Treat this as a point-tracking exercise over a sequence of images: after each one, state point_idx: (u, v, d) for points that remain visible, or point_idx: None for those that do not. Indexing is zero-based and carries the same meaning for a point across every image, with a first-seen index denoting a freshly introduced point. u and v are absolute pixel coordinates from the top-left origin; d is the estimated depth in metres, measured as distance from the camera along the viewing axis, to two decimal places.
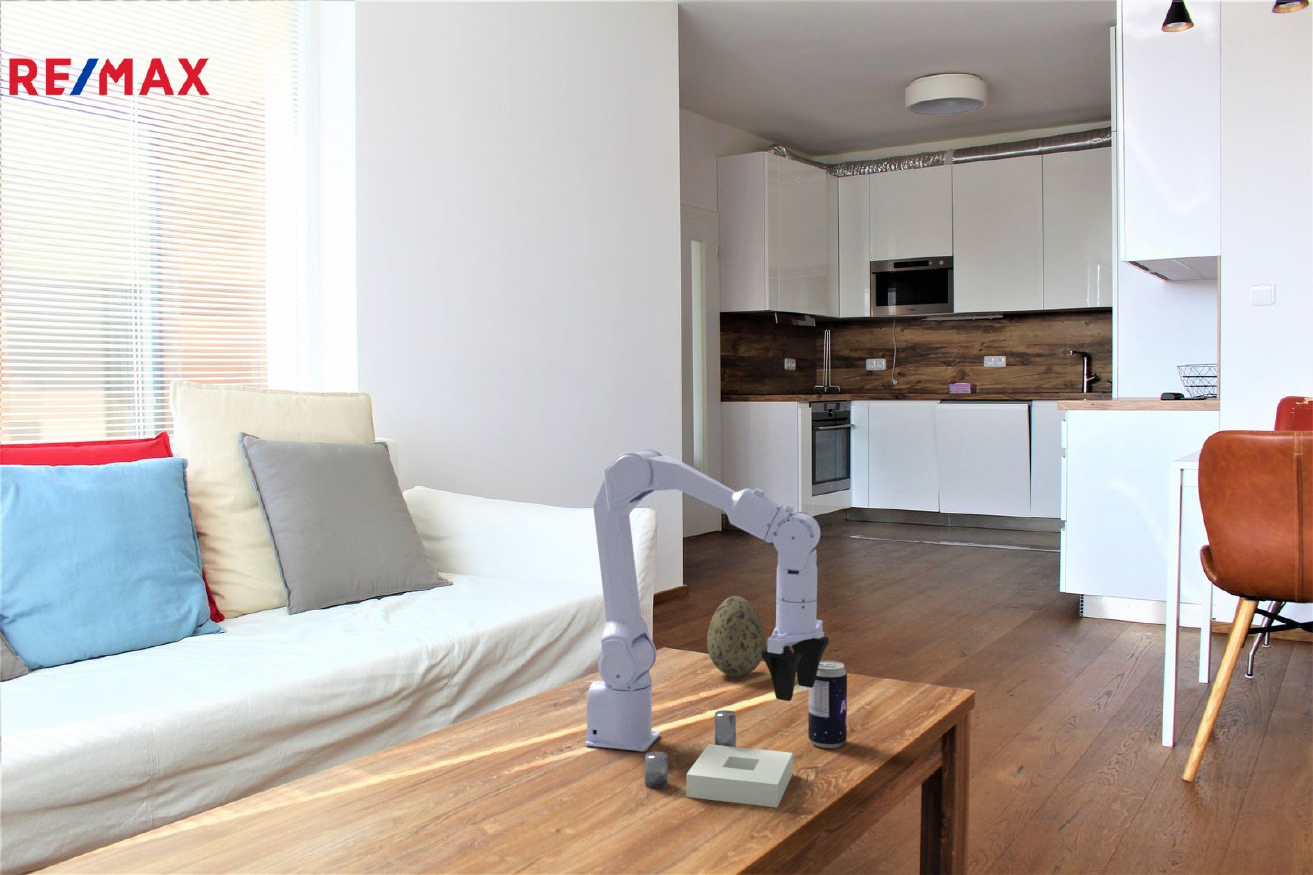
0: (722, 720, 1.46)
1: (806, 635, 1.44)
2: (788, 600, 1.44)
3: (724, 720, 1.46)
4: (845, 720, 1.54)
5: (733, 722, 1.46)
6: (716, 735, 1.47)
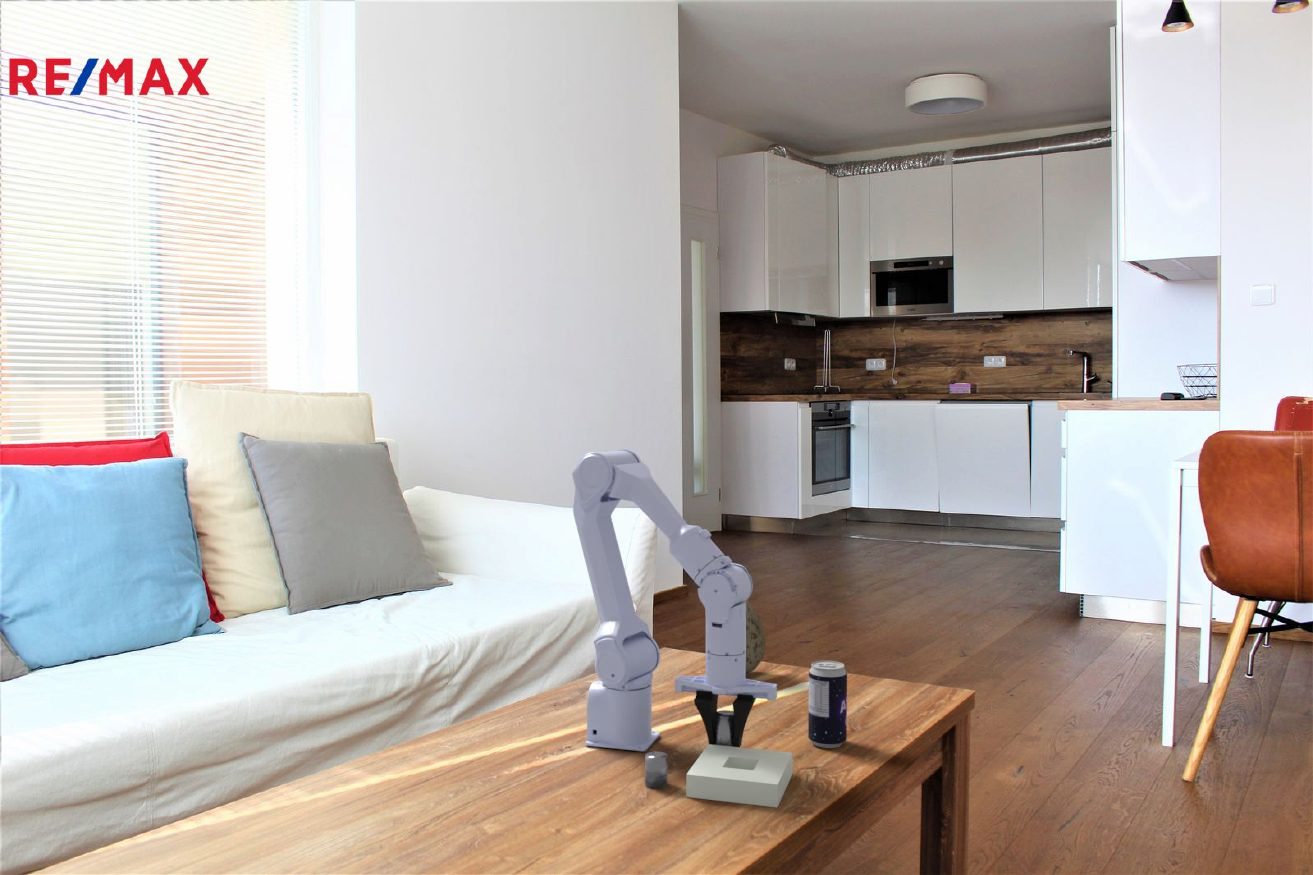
0: (722, 720, 1.46)
1: (707, 686, 1.45)
2: (712, 653, 1.45)
3: (724, 720, 1.46)
4: (845, 720, 1.54)
5: (733, 722, 1.46)
6: (716, 735, 1.47)
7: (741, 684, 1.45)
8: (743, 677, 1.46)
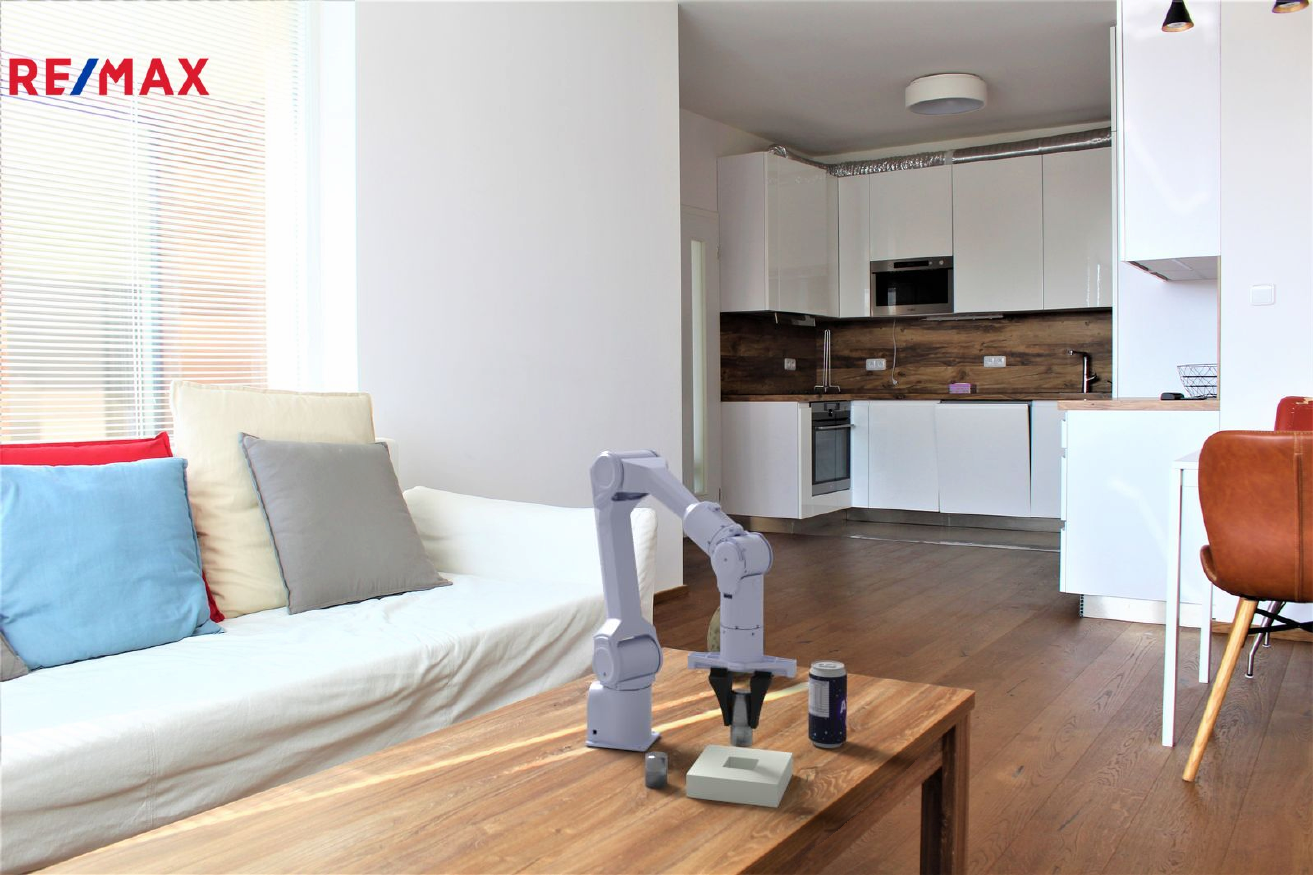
0: (739, 699, 1.37)
1: (722, 662, 1.36)
2: (724, 625, 1.36)
3: (741, 699, 1.37)
4: (845, 720, 1.54)
5: (750, 701, 1.37)
6: (732, 715, 1.38)
7: (758, 660, 1.36)
8: (760, 652, 1.36)
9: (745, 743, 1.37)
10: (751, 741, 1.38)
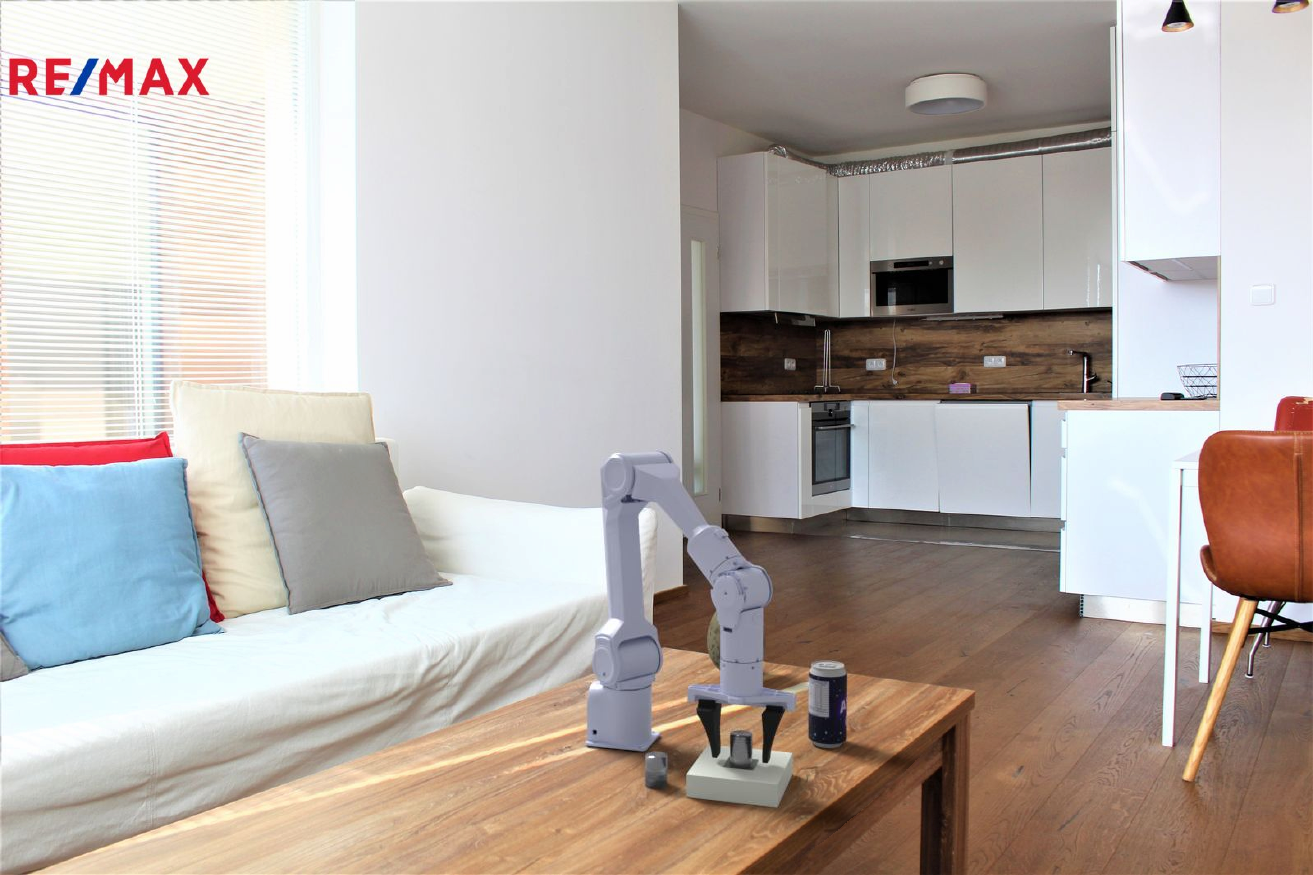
0: (738, 741, 1.37)
1: (722, 695, 1.36)
2: (724, 659, 1.37)
3: (740, 741, 1.37)
4: (845, 720, 1.54)
5: (750, 743, 1.38)
6: (732, 757, 1.38)
7: (758, 693, 1.36)
8: (760, 686, 1.37)
9: None
10: None
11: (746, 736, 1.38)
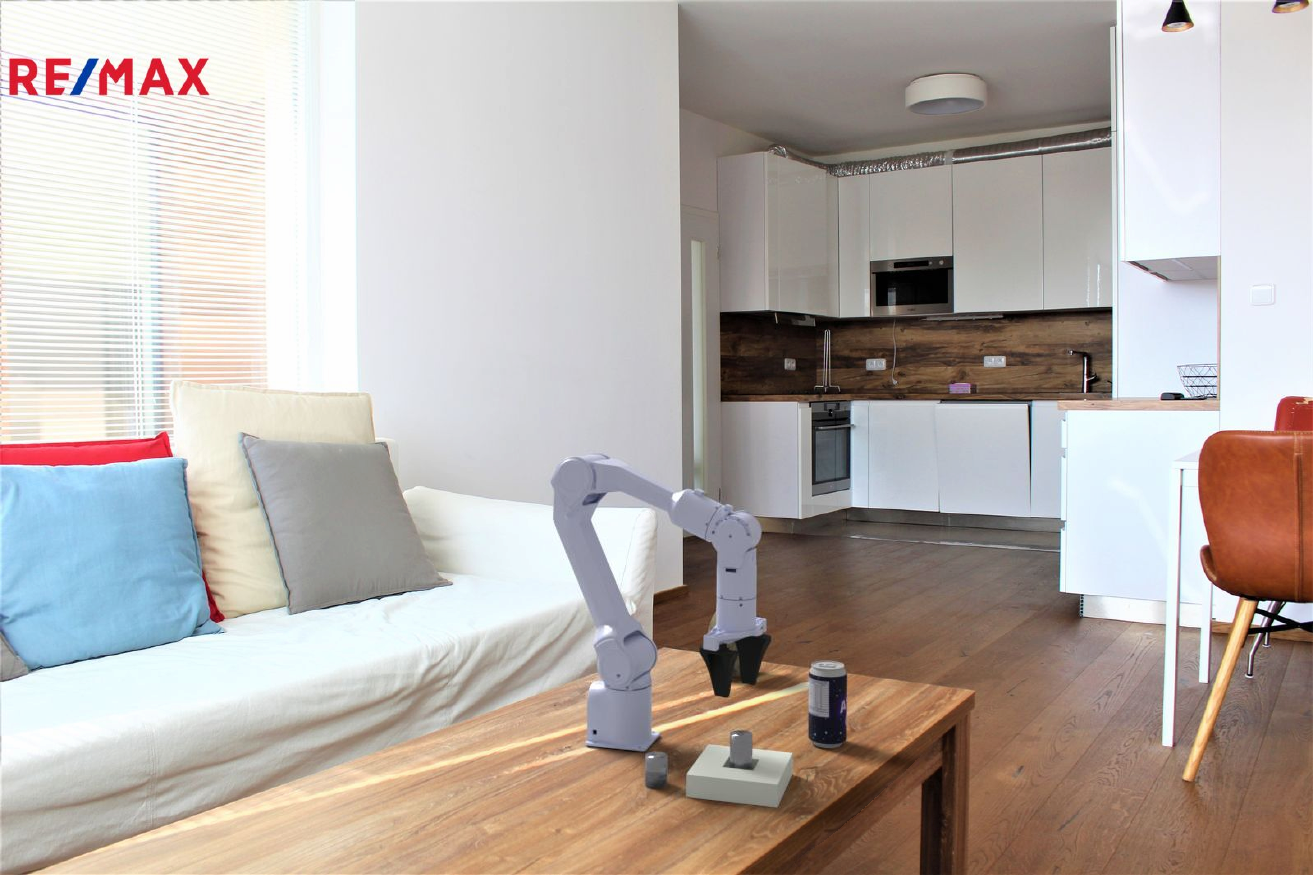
0: (738, 741, 1.37)
1: (744, 633, 1.46)
2: (726, 598, 1.46)
3: (740, 741, 1.37)
4: (845, 720, 1.54)
5: (750, 743, 1.38)
6: (732, 757, 1.38)
7: None
8: None
9: None
10: None
11: (746, 736, 1.38)
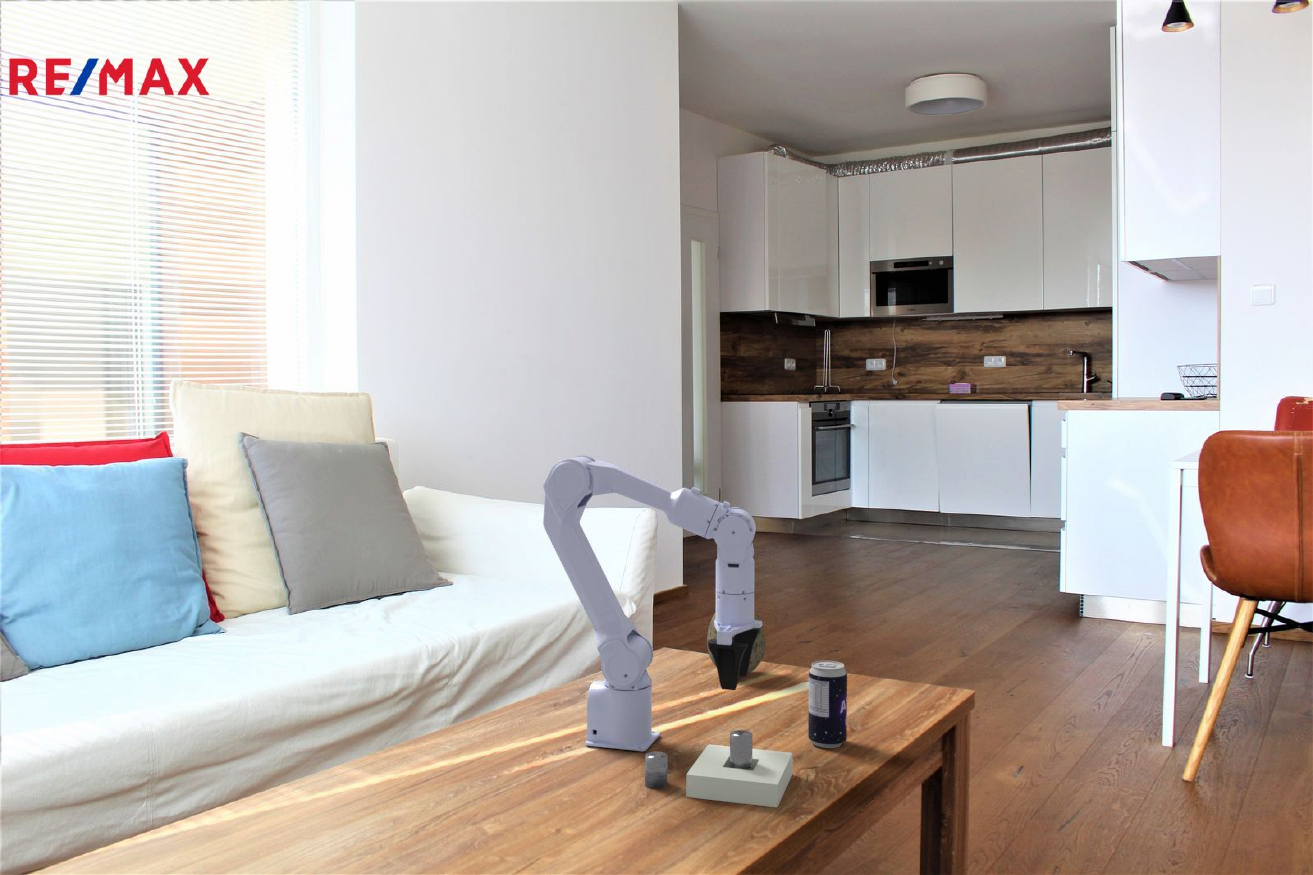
0: (738, 741, 1.37)
1: (748, 625, 1.50)
2: (729, 593, 1.50)
3: (740, 741, 1.37)
4: (845, 720, 1.54)
5: (750, 743, 1.38)
6: (732, 757, 1.38)
7: None
8: None
9: None
10: None
11: (746, 736, 1.38)
